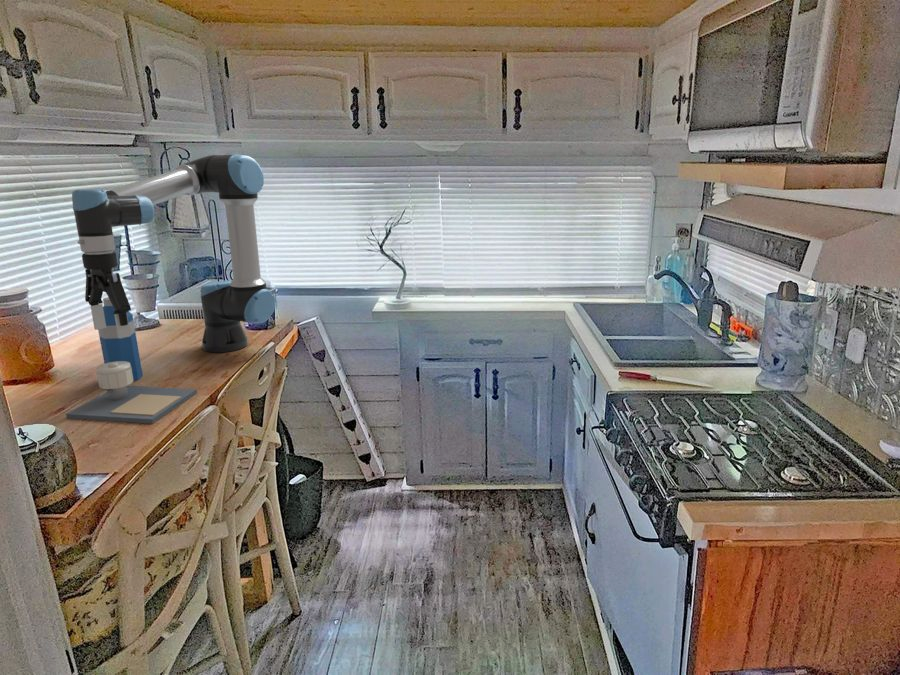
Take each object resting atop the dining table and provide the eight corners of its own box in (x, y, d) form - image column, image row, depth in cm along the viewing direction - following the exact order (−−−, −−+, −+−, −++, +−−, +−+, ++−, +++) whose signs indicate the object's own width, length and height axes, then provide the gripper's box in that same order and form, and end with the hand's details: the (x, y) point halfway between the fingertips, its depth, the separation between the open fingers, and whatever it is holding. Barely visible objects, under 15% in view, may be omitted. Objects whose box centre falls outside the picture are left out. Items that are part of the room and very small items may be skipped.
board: (119, 389, 167) (114, 358, 165) (197, 393, 164) (192, 362, 162) (66, 418, 148) (59, 384, 146) (153, 423, 145) (147, 389, 143)
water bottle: (143, 380, 174) (129, 299, 167) (107, 386, 169) (92, 303, 162) (141, 371, 182) (128, 293, 174) (107, 376, 177) (92, 296, 170)
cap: (113, 377, 162) (109, 357, 160) (139, 378, 161) (136, 359, 159) (92, 388, 154) (88, 367, 153) (120, 389, 153) (116, 369, 152)
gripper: (61, 249, 151) (76, 328, 157) (105, 258, 137) (119, 344, 143) (92, 246, 157) (105, 322, 163) (137, 254, 142) (150, 337, 148)
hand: (112, 332), depth 153 cm, fingers open, 13 cm apart
